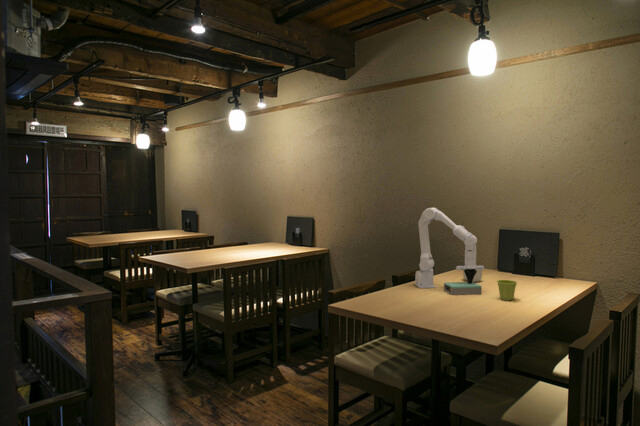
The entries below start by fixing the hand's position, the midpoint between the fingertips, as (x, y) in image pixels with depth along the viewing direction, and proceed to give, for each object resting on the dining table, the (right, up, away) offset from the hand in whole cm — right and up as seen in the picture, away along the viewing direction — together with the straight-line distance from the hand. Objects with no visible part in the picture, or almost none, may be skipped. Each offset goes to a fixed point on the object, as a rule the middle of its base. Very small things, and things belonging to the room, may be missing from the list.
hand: (469, 283), depth 226 cm
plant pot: (+13, -5, -15) cm, 21 cm away
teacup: (+10, -3, +27) cm, 29 cm away
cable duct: (-5, -4, -2) cm, 7 cm away
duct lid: (-5, -1, -3) cm, 5 cm away
